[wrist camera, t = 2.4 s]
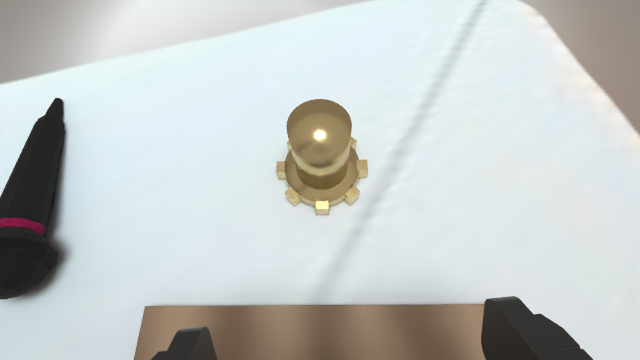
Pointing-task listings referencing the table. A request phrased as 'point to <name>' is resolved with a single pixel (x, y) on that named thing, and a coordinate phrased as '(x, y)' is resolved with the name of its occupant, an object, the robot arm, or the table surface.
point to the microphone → (30, 207)
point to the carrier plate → (322, 331)
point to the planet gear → (321, 157)
